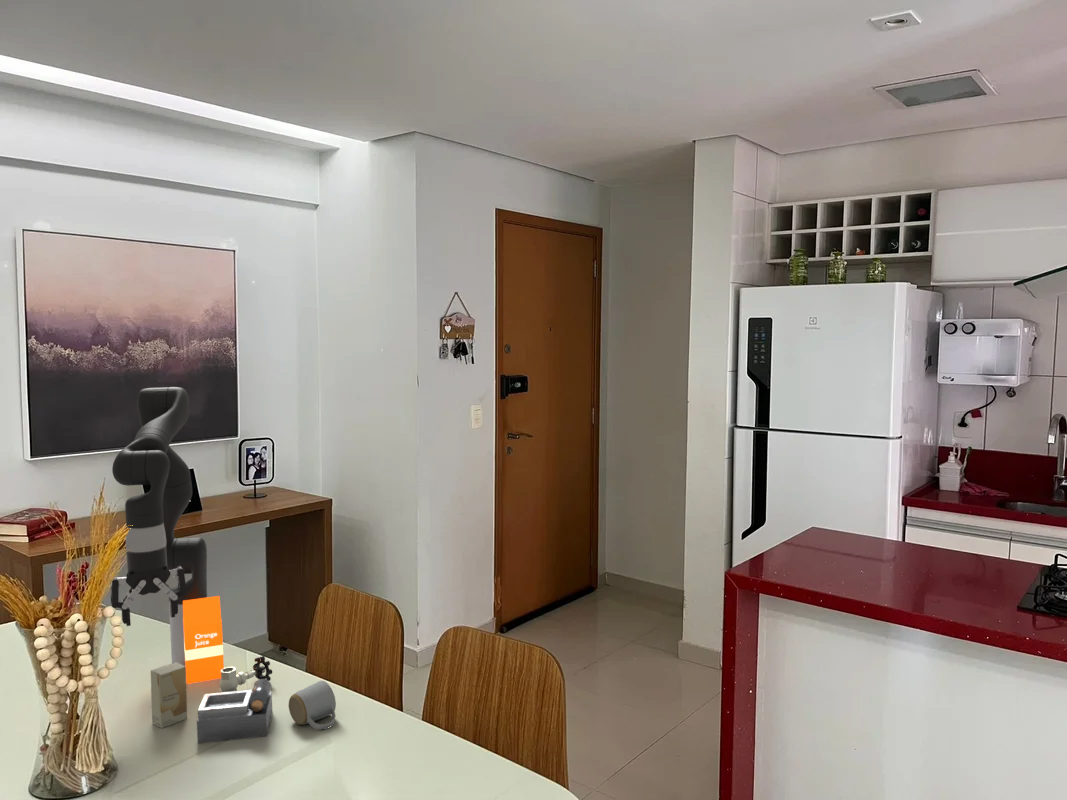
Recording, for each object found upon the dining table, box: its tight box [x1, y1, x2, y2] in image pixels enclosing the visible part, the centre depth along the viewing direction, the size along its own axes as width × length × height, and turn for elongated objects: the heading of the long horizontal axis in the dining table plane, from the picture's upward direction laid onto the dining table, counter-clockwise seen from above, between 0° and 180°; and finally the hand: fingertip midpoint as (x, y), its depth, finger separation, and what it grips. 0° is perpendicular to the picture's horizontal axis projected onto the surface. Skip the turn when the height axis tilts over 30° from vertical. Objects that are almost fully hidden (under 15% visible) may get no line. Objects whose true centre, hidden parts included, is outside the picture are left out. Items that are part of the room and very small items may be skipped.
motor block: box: [196, 679, 273, 744], centre depth 179 cm, size 11×14×9 cm
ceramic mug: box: [288, 680, 337, 731], centre depth 182 cm, size 11×8×8 cm
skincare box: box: [150, 662, 188, 729], centre depth 182 cm, size 6×4×12 cm
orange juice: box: [183, 595, 225, 685], centre depth 206 cm, size 8×9×20 cm
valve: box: [219, 655, 273, 693], centre depth 198 cm, size 7×7×12 cm
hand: (150, 620), depth 172 cm, fingers open, 8 cm apart
